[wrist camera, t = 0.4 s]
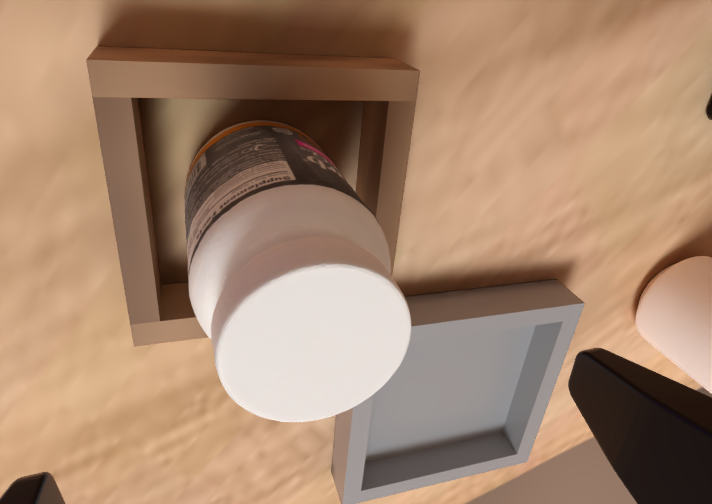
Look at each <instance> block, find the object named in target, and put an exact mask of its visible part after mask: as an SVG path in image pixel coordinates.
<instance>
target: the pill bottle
mask: <svg viewBox="0 0 712 504" xmlns="http://www.w3.org/2000/svg"><path fill="white" fill-rule="evenodd" d="M184 198H185V223H186V238H187V259H188V290H189V297H190V301H191V305H192V308H193V310H194V313H195V315H196V318H197V320H198V322H199V324H200V326H201V327H202V329H203V330H204V332H205V333H206V334H207V336H208V337H209V338H210V339H211V340H212V345H213V352H214V359H215V365H216V369H217V373H218V375H219V378H220V380H221V383H222V385H223V387H224V388H225V390H226V392H227V393H228V394H229V396H230V397H231V398H232V399H233V400H234V401H235V402H236V403H237V404H239V405H240V406H241V407H243V408H244V409H246V410H247V411H249V412H251V413H253V414H255V415H257V416H260V417H263V418H267V419H271V420H276V421H281V422H306V421H314V420H319V419H324V418H328V417H330V416H334V415H337V414H339V413H342V412H344V411H347V410H349V409H351V408H353V407H355V406H357V405H358V404H360V403H362V402H363V401H365V400H366V399H368V398H369V397H370V396H372V395H373V394H374V393H376V392H377V391H378V390H379V389H380V388H381V387H382V386H384V385H385V383H386V382H387V381H388V380H389V379H390V378H391V376H392V375H393V374H394V373H395V371H396V370H397V369H398V367H399V366H400V364H401V362H402V360H403V358H404V356H405V354H406V351H407V348H408V345H409V342H410V336H411V315H410V311H409V307H408V304H407V301H406V299H405V297H404V295H403V293H402V291H401V289H400V288H399V286H398V285H397V283H396V281H395V280H394V278H393V277H392V275H391V274H390V271H391V261H390V253H389V248H388V243H387V241H386V238H385V235H384V232H383V230H382V228H381V226H380V224H379V222H378V220H377V219H376V217H375V216H374V214H373V213H372V211H371V210H370V209H369V208H368V207H367V205H366V204H365V203H363V201H362V200H361V199H360V197H359V196H358V195H357V194H356V193H355V192H354V190H353V189H352V187H351V186H350V185H349V184H348V182H347V181H346V180H345V178H344V177H343V175H342V174H341V173H340V171H339V170H338V169H337V168H336V166H335V165H334V164H333V162H332V161H331V160H330V159H329V158H328V157H327V155H326V154H325V153H324V151H323V150H322V149H321V148H320V147H319V146H318V145H317V144H316V143H315V142H314V141H313V140H312V139H311V138H310V137H309V136H307V135H306V134H305V133H303V132H302V131H300V130H298V129H296V128H294V127H292V126H290V125H287V124H284V123H280V122H276V121H269V120H253V121H248V122H243V123H239V124H236V125H233V126H231V127H228V128H226V129H224V130H223V131H221V132H219V133H218V134H216V135H215V136H214V137H212V138H211V139H210V140H209V141H208V142H207V143H206V144H205V145H204V146H203V147H202V148H201V149H200V151H199V152H198V153H197V155H196V156H195V158H194V160H193V162H192V164H191V166H190V169H189V172H188V175H187V180H186V187H185V197H184Z"/></svg>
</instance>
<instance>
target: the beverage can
mask: <svg viewBox="0 0 712 504" xmlns="http://www.w3.org/2000/svg"><path fill="white" fill-rule="evenodd" d="M635 322H636V328H637V331H638V332H639V334H640V335H641V336H642V337H643V338H644V339H645V340H646V341H647V342H649V343H650V344H651V345H652V346H653V347H655V348H656V349H657V350H658V351H659V352H661V353H662V354H663V355H664V356H666V357H667V358H668V359H669V360H671V361H672V362H673V363H674V364H675V365H677V366H678V367H679V368H680V369H682V370H683V371H684V372H685V373H687V374H688V375H689V376H690V377H691V378H693V379H694V380H695V381H696V382H698V383H699V384H700V385H701V386H703V387H704V388H705V389H706V390H708V391H709V392H710V393H711V394H712V258H711V257H708V256H695V257H691V258H688V259H685V260H683V261H681V262H679V263H676V264H673V265H671V266H669V267H667V268H665V269H664V270H662V271H661V272H660V273H658V274H657V275H656V276H655V277H654V278H653V279H652V280H651V281H650V282H649V284H648V285H647V286H646V288H645V289H644V291H643V293H642V295H641V297H640V300H639V304H638V309H637V312H636V319H635Z"/></svg>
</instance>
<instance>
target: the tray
mask: <svg viewBox="0 0 712 504" xmlns="http://www.w3.org/2000/svg"><path fill="white" fill-rule="evenodd" d="M405 299H406V301H407V304H408V307H409V311H410V315H411V336H410V342H409V345H408V348H407V351H406V354H405V356H404V358H403V360H402V362H401V364H400V366H399V367H398V369H397V370H396V371H395V373H394V374H393V375H392V376H391V378H390V379H389V380H388V381H387V382H386V383H385V385H384V386H382V387H381V388H380V389H379V390H378V391H377V392H376V393H374V394H373V395H372V396H370V397H369V398H368V399H366V400H365V401H363V402H362V403H360V404H358V405H357V406H355V407H353V408H351V409H349V410H347V411H344V412H342V413H339V414H337V415H336V423H335V434H334V446H333V457H332V468H331V473H332V476H333V479H334V482H335V485H336V489H337V492H338V495H339V498H340V501H341V504H356V503H360V502H364V501H368V500H372V499H377V498H381V497H385V496H389V495H393V494H397V493H401V492H405V491H409V490H414V489H418V488H422V487H426V486H430V485H434V484H438V483H442V482H446V481H451V480H455V479H459V478H463V477H467V476H471V475H475V474H479V473H484V472H488V471H492V470H496V469H500V468H504V467H508V466H512V465H516V464H521V463H525V462H527V460H528V458H529V455H530V452H531V449H532V447H533V444H534V441H535V439H536V436H537V433H538V430H539V428H540V425H541V422H542V419H543V417H544V414H545V411H546V408H547V406H548V403H549V400H550V397H551V395H552V392H553V389H554V386H555V384H556V381H557V378H558V375H559V373H560V370H561V367H562V365H563V362H564V359H565V356H566V354H567V351H568V348H569V345H570V343H571V340H572V337H573V334H574V332H575V329H576V326H577V323H578V321H579V318H580V315H581V312H582V310H583V307H584V304H585V303H584V302H583V301H582V300H581V299H579V298H578V297H577V296H576V295H575V294H573V293H572V292H571V291H570V290H569V289H568V288H566V287H565V286H564V285H563V284H562V283H560V282H559V281H558V280H557V279H554V280H545V281H536V282H528V283H519V284H510V285H502V286H493V287H484V288H476V289H467V290H458V291H450V292H441V293H432V294H424V295H415V296H406V297H405Z"/></svg>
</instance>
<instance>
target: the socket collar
mask: <svg viewBox="0 0 712 504" xmlns="http://www.w3.org/2000/svg"><path fill="white" fill-rule="evenodd" d="M87 67H88V73H89V79H90V85H91V91H92V97H93V103H94V109H95V115H96V121H97V127H98V133H99V139H100V145H101V151H102V157H103V163H104V169H105V175H106V181H107V187H108V193H109V199H110V205H111V211H112V217H113V223H114V229H115V235H116V241H117V247H118V253H119V259H120V265H121V271H122V277H123V283H124V289H125V295H126V301H127V307H128V313H129V319H130V325H131V331H132V337H133V344H134V346H142V345H150V344H158V343H166V342H174V341H182V340H190V339H198V338H206V337H208V336H207V334H206V333H205V332H204V330H203V329H202V327H201V326H200V324H199V322H198V320H197V318H196V315H195V313H194V310H193V308H192V305H191V301H190V297H189V290H188V282H184V283H173V284H162V285H161V280H160V272H159V264H158V256H157V248H156V240H155V232H154V224H153V216H152V208H151V200H150V191H149V183H148V175H147V167H146V159H145V151H144V143H143V135H142V127H141V119H140V111H139V103H138V98H198V99H276V100H355V101H364V105H363V116H362V127H361V139H360V150H359V162H358V173H357V184H356V194H357V195H358V196H359V197H360V199H361V200H362V201H363V203H365V204H366V205H367V207H368V208H369V209H370V210H371V211H372V213H373V214H374V216H375V217H376V219H377V220H378V222H379V224H380V226H381V228H382V230H383V232H384V235H385V238H386V241H387V243H388V248H389V253H390V261H391V271H390V274H391V275H392V273H393V266H394V258H395V251H396V244H397V237H398V229H399V222H400V215H401V207H402V200H403V193H404V185H405V178H406V171H407V164H408V156H409V149H410V142H411V134H412V127H413V120H414V112H415V105H416V98H417V91H418V83H419V76H420V70H417V69H415V68H413V67H411V66H409V65H407V64H404V63H402V62H400V61H398V60H396V59H394V58H376V57H352V56H327V55H302V54H278V53H253V52H228V51H204V50H179V49H154V48H130V47H105V46H97V47H96V48H95V49H94V51H93V52H92V53H91V55H90V56H89V57H88V58H87Z"/></svg>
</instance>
